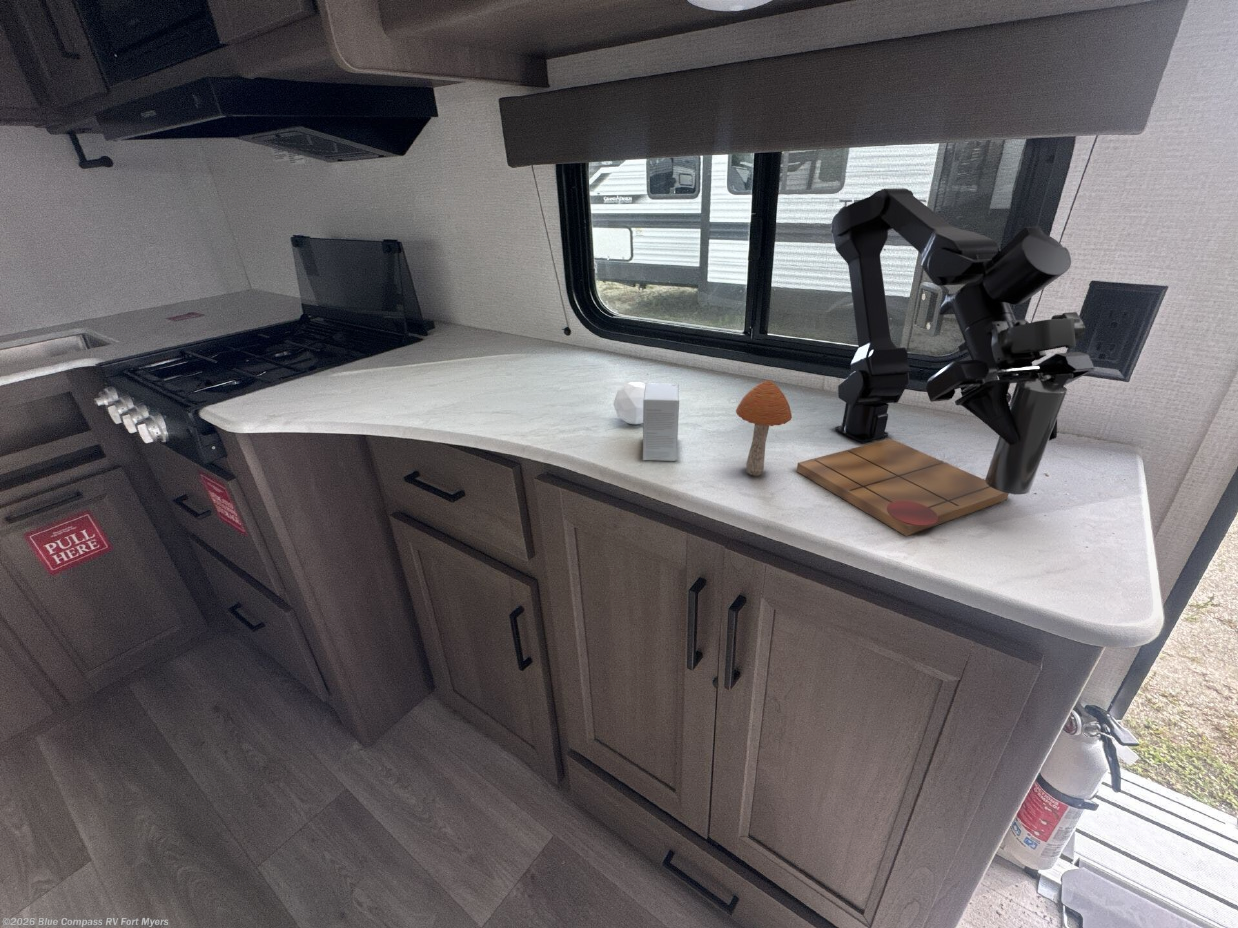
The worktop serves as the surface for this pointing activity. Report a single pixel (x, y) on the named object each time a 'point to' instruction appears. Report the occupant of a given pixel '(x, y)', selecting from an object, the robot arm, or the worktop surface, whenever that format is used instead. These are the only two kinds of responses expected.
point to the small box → (660, 421)
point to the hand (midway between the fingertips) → (1033, 441)
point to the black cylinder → (1026, 436)
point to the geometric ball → (630, 403)
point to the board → (901, 485)
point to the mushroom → (762, 419)
